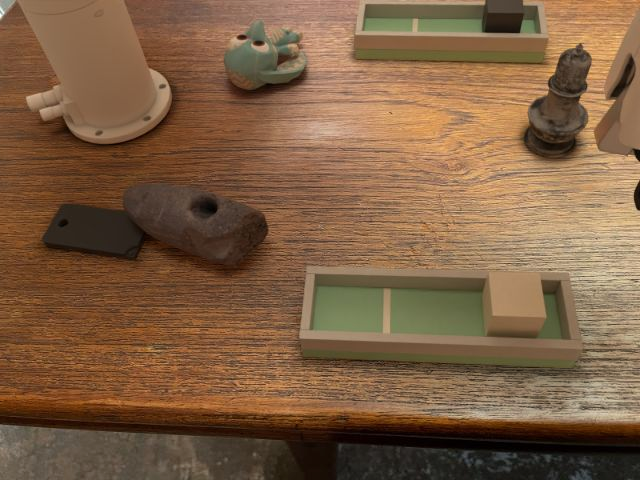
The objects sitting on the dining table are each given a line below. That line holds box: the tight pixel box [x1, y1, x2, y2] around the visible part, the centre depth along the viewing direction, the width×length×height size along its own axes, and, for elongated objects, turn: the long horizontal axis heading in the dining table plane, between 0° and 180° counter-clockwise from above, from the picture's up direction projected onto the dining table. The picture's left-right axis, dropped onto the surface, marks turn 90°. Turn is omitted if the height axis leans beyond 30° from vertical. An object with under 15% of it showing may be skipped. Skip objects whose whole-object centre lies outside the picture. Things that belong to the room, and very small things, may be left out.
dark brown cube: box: [482, 0, 524, 33], centre depth 71 cm, size 4×4×4 cm
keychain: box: [41, 202, 148, 260], centre depth 61 cm, size 5×1×10 cm
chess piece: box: [523, 42, 593, 159], centre depth 60 cm, size 6×6×12 cm
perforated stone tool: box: [122, 182, 270, 267], centre depth 57 cm, size 15×5×7 cm, turn 65°
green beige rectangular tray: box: [354, 0, 550, 64], centre depth 74 cm, size 22×7×4 cm, turn 83°
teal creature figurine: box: [223, 19, 308, 91], centre depth 72 cm, size 11×7×12 cm
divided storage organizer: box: [298, 265, 584, 369], centre depth 51 cm, size 22×7×4 cm, turn 85°
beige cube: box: [481, 272, 546, 339], centre depth 49 cm, size 4×4×4 cm
